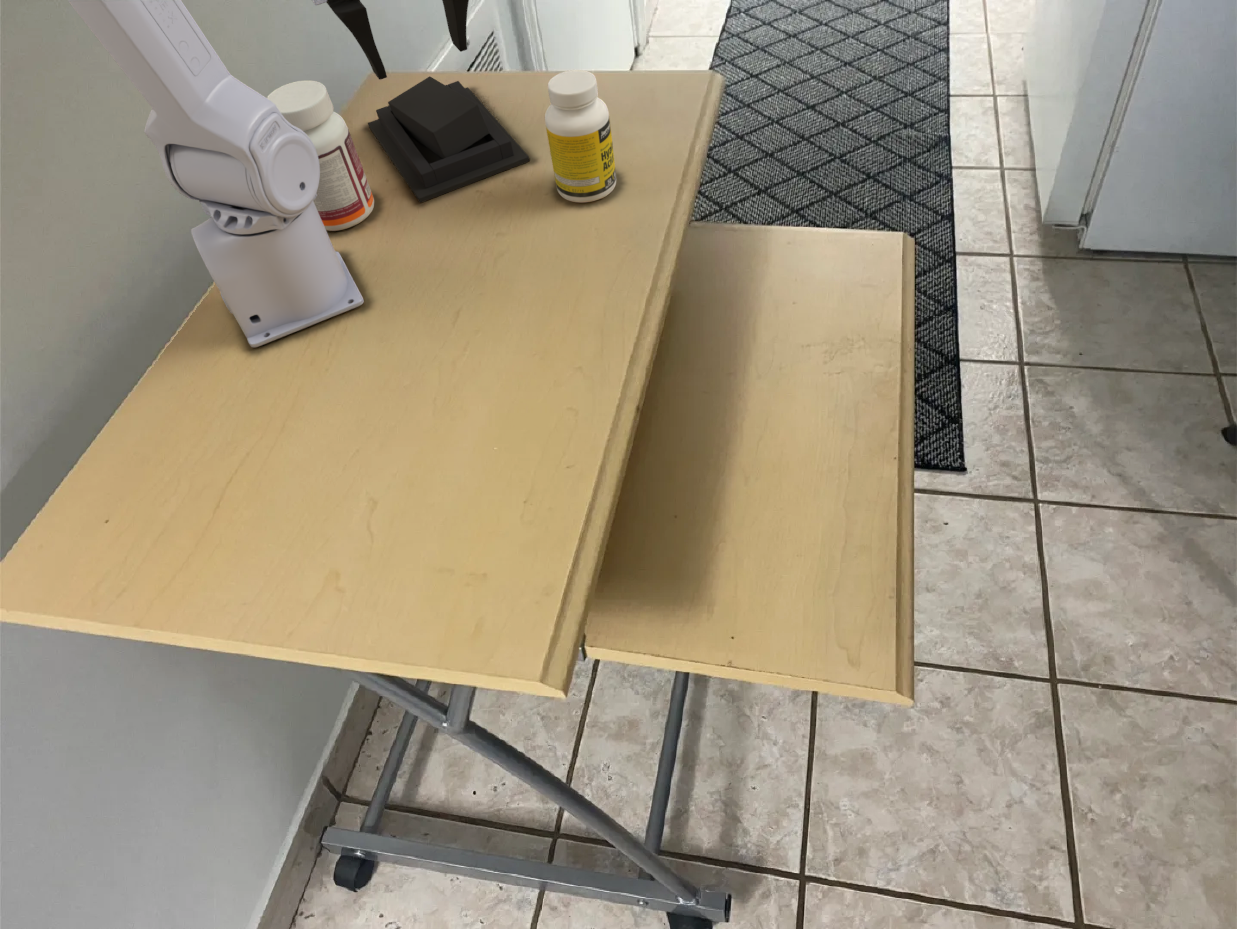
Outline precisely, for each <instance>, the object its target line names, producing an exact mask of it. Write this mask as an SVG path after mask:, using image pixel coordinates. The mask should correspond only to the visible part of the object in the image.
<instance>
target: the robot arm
mask: <svg viewBox="0 0 1237 929" xmlns="http://www.w3.org/2000/svg"><path fill="white" fill-rule="evenodd" d="M311 1H312V3H313V4H314V5H315V6H319V5H322V4H325V3H326V4H327V5H328V7H329V8H330V9H331V11H332V13H333V14H334V15H335V16H336V17H337V18H338V19H339V20H340V21H341V23H342V24H343V25H344V26H345V27H346V28H347V29H348V31H349V32H350V33H351V34H352V36H353V37H354V39H355V40H356V43H358V45H359V47H360V48H361V50H362V51H363V53H364V54H365V57H366V59H367V60H368V62H369V65H370V67H371V69H372V72H373V74H374V75H375V76H376V77H377V79H378V80H380V81H381V80H383V79H387V78H388V76H387V72H386V68H385V66H384V62H383V60H382V58H381V54H380V52H379V50H378V47H377V44H376V42H375V38H374V35H373V31H372V27H371V23H370V19H369V15H368V11H367V8H366V6H365V5H364V4H363V3H362V1H361V0H311ZM441 1H442V5H443V9H444V15H445V19H446V24H447V28H448V33H449V36H450V39H451V42H452V44H453V45H454V47H455V48H456V49H457V50H458V51H459V52H461V53H462V52H464V51H467V50H468V42H467V41H468V40H467V22H468V21H467V20H468V8H469V1H470V0H441ZM67 2H68V3H69V4H70V6H71V7H72V8H73V10H74V11H75V12H76V14H78V16H79V18H81V20H82V21H83V22H84V24H85V25H86V26H87V27H88V29H89V30H90V31H91V32H92V34H93V35H94V36H95V37H96V39H97V40H98V41H99V42H100V44H101V45H102V47H103V48H104V49H105V50H106V52H107V53H108V54H109V55H110V57H111V58H112V59H113V60H114V61H115V63H116V64H117V65H118V67H119V69H121V70H122V72H123V73H124V74H125V76H126V77H127V78H128V80H129V81H130V82H131V83H132V85H133V86H134V87H135V89H136V90H137V91H138V92H139V94H140V95H141V96H142V98H144V100H145V101H146V102H147V104H148V105H149V106H150V107H151V110H150V112H149V115H148V117H147V119H146V123H145V127H144V132H143V133H144V134H145V136H146V137H147V138H148V139H149V141H150V142H151V143H152V144H153V146H154V147H155V149H156V152H157V153H158V155H159V157H160V161H161V164H162V168H163V171H164V174H165V176H166V178H167V180H168V181H169V183H170V185H171V186H172V187H173V188H174V189H175V191H177V192H178V193H179V194H180V195H181V196H183V197H185V198H186V199H187V198H188V199H190V200H192V201H199V203H200V204H199V205H201V208H202V210H203V211H204V213H205V215H207V216H210V217H209V218H208V219H207V220H205V221H203V222H201V223H200V224H198V225H196V226H194V227H193V228H191V229H190V234H191V236H192V239H193V241H194V244H195V246H196V248H197V251H198V253H199V255H200V257H201V259H202V261H203V263H204V265H205V267H206V269H207V271H208V273H209V275H210V276H211V278H212V281H213V282H214V284H215V286H216V287H217V290H218V291H219V293H220V296H221V299H222V301H223V302H224V304H225V306H226V309H227V310H228V311H229V313H230V314H232V315H233V317H234V318H235V320H236V322H237V323H238V325H239V328H240V329H241V330H242V332H243V334H244V336H245V338H246V339H247V343H248V345H249V346H250V347H251V348H258V347H261V346H263V345H266V344H269V343H272V342H274V341H276V340H279V339H282V338H284V337H286V336H288V335H290V334H293V333H296V332H299V331H301V330H303V329H306V328H308V327H311V326H313V325H316V324H318V323H320V322H323V321H326V320H328V319H330V318H333V317H336V316H338V315H340V314H343V313H345V312H348V311H351V310H353V309H356V308H358V307H360V306H362V305H363V304H364V302H365V300H364V298H363V296H362V293H361V292H360V289H359V288H358V285H357V284H356V282H355V279H354V278H353V276H352V274H351V272H350V271H349V269H348V266H347V265H346V263H345V261H344V259H343V258H342V256H341V253H340V252H339V251H338V250H337V251H336V250H335V247H334V245H333V243H332V241H331V238H330V235H329V233H328V231H327V230H326V229H325V227H324V224H323V222H322V220H321V218H320V215H319V213H318V211H317V208H316V206H315V204H314V201H313V200H314V199H315V198H316V197H317V194H316V193H317V189H318V186H319V179H320V165H319V159H318V155H317V152H316V149H315V147H314V144H313V143H312V141H311V139H310V138H309V137H308V135H307V134H306V133H305V132H303V131H302V130H301V129H299V128H297V127H295V126H293V125H292V124H290V123H289V122H288V121H287V120H286V119H285V118H284V117H283V115H282V114H281V112H280V111H279V109H278V108H277V106H276V105H275V104H274V103H273V102H272V101H270V100H269V99H267V97H266V96H264V95H263V94H261V93H260V92H258V91H257V90H255V89H253V88H251V87H250V86H248V85H247V84H245V83H244V82H242V81H241V80H239V79H238V78H236V77H235V76H233V75H232V74H231V73H230V71H229V70H228V68H227V67H226V64H224V62H223V61H222V59H221V58H220V56H219V55H218V53H217V52H216V50H215V49H214V46H212V45H211V43H210V41H209V40H208V38H207V37H206V35H205V34H204V32H203V30H202V29H201V28H200V26H199V25H198V23H197V22H196V20H195V19H194V17H193V16H192V14H191V13H190V11H189V10H188V9H187V7H186V5H185V4H184V2H183V1H182V0H67Z"/></svg>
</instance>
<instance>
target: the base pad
mask: <svg viewBox="0 0 1237 929" xmlns="http://www.w3.org/2000/svg"><path fill="white" fill-rule="evenodd" d="M444 85H445V86H447V87H449V88H451V89H452V90H454V91H456V92H457V93H459V94H461V95H462V96H464V97H466V98H468V99H469V100H471V101H473V102H474V103H476V104H478V106H479V109H480V111H481V113H482V116H483V118H484V121H485V123H486V125H487V128H488V130H489V132H490V133H489V134H488V135H486V136H484V137H483V138H481V139H480V140H478V141H477V142H475V143H474V144H472V145H471V146H469V147H467V148H466V149H464V150H463V151H461V152H460V153H457V154H455V155H452V156H449V157H447V158H444V159H443V158H441V157H440V156H439V155H437V154H436V153H434V152H433V151H431V150H430V149H429V148H427V147H426V146H424V145H423V144H422V143H420V142H419V141H417V140H416V139H414V138H413V137H412V136H410V135H409V134H407V133H406V132H405V130H404V129H403V128H402V126H401V125H400V124H399V122H398V121H397V119H396V118H395V116H394V114H393V112H392V110H391V108H390V106H389V104H388V105H387V106H383V107H380V108H377V109H376V110H375V113H376V115H377V119H375V120H372V121H369V122H367V126H368V128H369V129H370V131H371V132H372V134H373V135H374V137H375V138H376V140H377V141H378V143H379V145H380V146H381V148H383V150H384V152H385V153H386V155H387V156H388V158H389V159H390V161H391V162H392V163H393V165H394V166H395V168H396V170H397V171H398V173H399V174H400V176H401V177H402V178H403V181H404V182H405V183H406V184H407V186H408V188H409V189H410V190H411V192H412V194H413V195H414V196H415V198H416V199H417V201H418V202H419V203H421V204H422V203H424V202H426V201H429V200H433V199H434V198H437V197H440V196H442V195H445V194H448V193H450V192H453V191H456V190H458V189H461V188H464V187H466V186H468V185H469V186H470V185H472V184H473V183H476V182H479V181H481V180H484V179H487V178H489V177H492V176H495V175H497V174H500V173H503V172H505V171H507V170H510V169H513V168H515V167H518V166H520V165H524V164H526V163H529V162H530V161H531V160H530V156H529V155H528V153H526V151H524V149H523V148H522V147H521V146H520V145H519V144H518V143H517V141H516V140H515V139H514V138H513V137H512V136H511V134H510V133H509V132H508V131H507V130H506V129H505V128H504V127H503V125H502V124H501V123H500V121H498V119H497V118H495V116H494V115H493V114H492V113H491V112H490V110H488V108H487V107H486V106H485V105H484V104H483V103H482V101H480V99H479V98H478V97H477V96H476V95H475V94H474V92H473V91H472V90H471V89H470V88H469V87H468V86H467V87H464V86H463V85H462V83H461V82H460V80H456V81H453V82H451V83H448V84H444Z"/></svg>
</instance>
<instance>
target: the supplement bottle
mask: <svg viewBox="0 0 1237 929" xmlns="http://www.w3.org/2000/svg"><path fill="white" fill-rule="evenodd" d="M547 93H548V97H549V102H550V104H549V106H548V107H547V109H546V111H545V114H544V123H545V130H546V136H547V141H548V146H549V152H550V158H551V163H552V170H553V176H554V182H555V186H556V190H557V192H558V194H559V195H560V196H561V197H562V198H563V199H564V200H566V201H569V202H573V203H580V204H581V203H591V202H595V201H598V200H601V199H603V198H605V197H607V196H608V195H609V194H611V193H612V192H613V190H614V189H615V187H616V185H617V170H616V162H615V154H614V146H613V136H612V128H611V127H612V126H611V120H610V112H609V109H608V108H609V107H608V106H607V104H606V103H605V101H604V100H602V98H600V97H599V94H598V93H599V89H598V82H597V77H596V75H594V73H592V72H590V71H588V70H583V69H569V70H565V71H561V72H559V73H557V74H556V75H553V76H552V77H551V78H550V79H549V81H548V82H547Z"/></svg>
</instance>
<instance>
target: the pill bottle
mask: <svg viewBox="0 0 1237 929" xmlns="http://www.w3.org/2000/svg"><path fill="white" fill-rule="evenodd" d="M266 98H267V99H269V100H270V101H272V102H273V103H274V104H275V105H276V106H277V108H278V109H279V111H280V112H281V114H282V115H283V117H284V118H285V119H286V120H287V121H288V122H289V123H290V124H292V125H293V126H295V127H297V128H299V129H301V130H302V131H303V132H305V133H306V134H307V135H308V137H309V138H310V139H311V141H312V143H313V144H314V147H315V149H316V152H317V155H318V159H319V165H320V179H319V186H318V189H317V193H316V194H317V197H316V198H315V199H314V200H313V201H314V204H315V206H316V208H317V211H318V213H319V215H320V218H321V220H322V222H323V224H324V227H325V229H326V231H327V232H328V231H329V232H336V231H343V230H347V229H350V228H352V227H354V226H357V225H359V224H360V223H361V222H363V221H365V220H366V219H367V218H368V217H369V216H370V215H371V213H372V212H373V210H374V207H375V198H374V195H373V192H372V188H371V187H370V183H369V181H368V179H367V175H366V173H365V170H364V168H363V164H362V162H361V160H360V157H359V155H358V152H357V149H356V146H355V143H354V141H353V138H352V136H351V133H350V128H349V127H348V126H347V123H346V121H345V119H344V118H343V117H342V116H341V115H340V114H339V113H337V112H336V111H334V110H335V109H334V104H333V101H332V100H331V98H330V95H329V92H328V89H327V87H326V86H325V85H324V84H323V83H322V82H319V81H316V80H310V79H309V80H297V81H293V82H289V83H285V84H284V85H281V86H279V87H277V88H275V89H274V90H273V91H271V92H270V93H269V94H267V97H266Z"/></svg>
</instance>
